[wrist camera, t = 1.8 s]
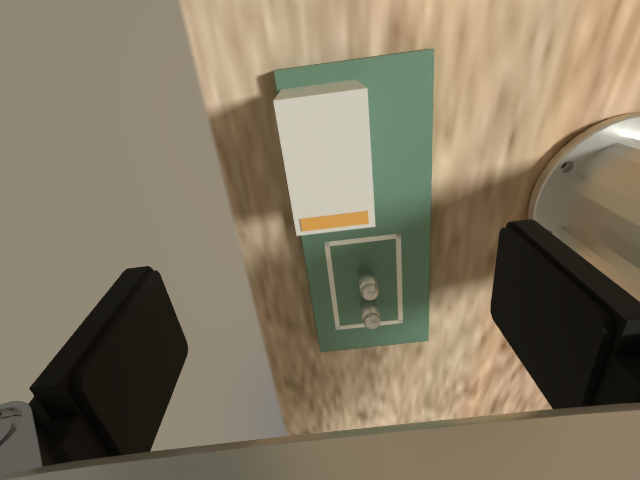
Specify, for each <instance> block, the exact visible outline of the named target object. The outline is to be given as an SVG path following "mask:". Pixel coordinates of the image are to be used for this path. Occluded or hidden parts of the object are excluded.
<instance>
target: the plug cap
mask: <svg viewBox="0 0 640 480" xmlns="http://www.w3.org/2000/svg"><path fill="white" fill-rule="evenodd" d="M273 103H274V108H275V114H276V120H277V126H278V131H279V137H280V143H281V149H282V155H283V160H284V166H285V172H286V178H287V184H288V189H289V195H290V201H291V207H292V212H293V218H294V224H295V230H296V236H301V235H309V234H318V233H326V232H335V231H343V230H352V229H360V228H369V227H376V226H375V209H374V192H373V175H372V158H371V141H370V123H369V106H368V89H367V87H365V86H364V85H363V84H362V83H360V82H359V81H358V80H357V79H354V80H346V81H339V82H331V83H324V84H317V85H309V86H302V87H294V88H287V89H281V91H280V92H279V93H278V95H277V96H276V98H275V99H274V100H273Z"/></svg>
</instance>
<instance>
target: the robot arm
mask: <svg viewBox="0 0 640 480" xmlns="http://www.w3.org/2000/svg"><path fill="white" fill-rule="evenodd" d="M491 315H492V318H493V320H494V322H495V323H496V325H497V326H498V328H499V329H500V331H501V332H502V334H503V335H504V337H505V338H506V340H507V341H508V343H509V344H510V346H511V347H512V349H513V350H514V352H515V353H516V355H517V356H518V358H519V359H520V361H521V362H522V364H523V365H524V367H525V368H526V370H527V371H528V373H529V374H530V375H531V377H532V378H533V380H534V381H535V383H536V384H537V386H538V387H539V389H540V390H541V392H542V393H543V395H544V396H545V398H546V399H547V401H548V402H549V404H550V405H551V407H552V408H553V409H551V410H539V411H529V412H519V413H509V414H499V415H489V416H479V417H469V418H459V419H449V420H439V421H429V422H419V423H410V424H400V425H391V426H381V427H372V428H362V429H353V430H343V431H334V432H324V433H315V434H306V435H296V436H287V437H278V438H268V439H260V440H250V441H241V442H233V443H224V444H215V445H206V446H197V447H188V448H179V449H170V450H162V451H152V452H150V450H151V448H152V445H153V442H154V440H155V437H156V435H157V432H158V429H159V427H160V424H161V422H162V419H163V416H164V414H165V411H166V409H167V406H168V403H169V401H170V398H171V396H172V393H173V391H174V388H175V385H176V383H177V380H178V378H179V375H180V373H181V370H182V367H183V365H184V362H185V359H186V357H187V353H188V346H187V341H186V339H185V336H184V334H183V331H182V328H181V326H180V323H179V321H178V319H177V316H176V313H175V311H174V308H173V306H172V303H171V301H170V298H169V295H168V293H167V291H166V288H165V285H164V283H163V281H162V278H161V275H160V273H159V272H158V271H156V270H155V271H153V269H152V268H151V267H149V266H145V267H137V268H129V269H126V270H125V271H124V272H123V273H122V274H121V276H120V277H119V278H118V279H117V280H116V282H115V283H114V284H113V286H112V287H111V288H110V289H109V290H108V292H107V293H106V294H105V296H104V297H103V298H102V299H101V300H100V302H99V303H98V304H97V305H96V307H95V308H94V309H93V310H92V311H91V313H90V314H89V315H88V316H87V318H86V319H85V320H84V321H83V323H82V324H81V325H80V326H79V328H78V329H77V330H76V331H75V332H74V334H73V335H72V336H71V337H70V339H69V340H68V341H67V342H66V344H65V345H64V346H63V347H62V349H61V350H60V351H59V352H58V354H57V355H56V356H55V357H54V358H53V360H52V361H51V362H50V363H49V365H48V366H47V367H46V369H45V370H44V371H43V372H42V373H41V375H40V376H39V377H38V378H37V379H36V381H35V382H34V383H33V384H32V386H31V387H30V390H31V392H33V394H34V398H33V399H32V400H31V402H30V403H29V404H28V403H25V402H22V401H11V402H7V403H4V404H0V480H640V112H638V113H628V114H624V115H620V116H616V117H612V118H610V119H607V120H605V121H603V122H600V123H598V124H596V125H593V126H592V127H590V128H589V129H587V130H585V131H584V132H582V133H580V134H579V135H577V136H576V137H575V138H573V139H572V140H571V141H570V142H569V143H567V144H566V145H565V146H564V147H563V148H561V150H560V151H559V152H558V153H557V154H556V155H555V156H554V157H553V158H552V159H551V160H550V162H549V163H548V164H547V166H546V167H545V169H544V170H543V172H542V173H541V175H540V176H539V178H538V180H537V182H536V185H535V187H534V189H533V191H532V194H531V198H530V202H529V206H528V220H521V221H512V222H509V223H507V225H506V228H502V229H501V230H500V234H499V241H498V250H497V258H496V266H495V274H494V283H493V291H492V299H491Z"/></svg>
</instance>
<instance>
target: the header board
mask: <svg viewBox="0 0 640 480" xmlns="http://www.w3.org/2000/svg"><path fill="white" fill-rule="evenodd" d="M274 76H275V82H276V88H277V94H278V93H279V92H280V91H281V89H287V88H294V87H302V86H309V85H317V84H324V83H331V82H339V81H346V80H354V79H357V80H358V81H359V82H360V83H362V84H363V85H364V86H365V87H367V89H368V106H369V123H370V141H371V158H372V175H373V192H374V209H375V226H376V227H369V228H360V229H352V230H343V231H335V232H326V233H318V234H309V235H301V239H302V245H303V251H304V257H305V263H306V269H307V275H308V281H309V287H310V293H311V299H312V305H313V311H314V317H315V323H316V329H317V335H318V341H319V347H320V352H326V351H336V350H345V349H355V348H365V347H374V346H384V345H394V344H403V343H413V342H423V341H428V332H429V282H430V231H431V181H432V130H433V79H434V49H424V50H417V51H409V52H402V53H395V54H388V55H380V56H373V57H366V58H359V59H351V60H344V61H337V62H330V63H322V64H315V65H308V66H301V67H293V68H286V69H279V70H275V71H274ZM363 267H369V268H371V269H372V270H373V271H374V274H375V277H376V281H377V285H378V289H379V294H378V296H377V298H376V299H375V300H376V302H377V306H378V311H379V315H380V319H381V322H380V325H379V326H378V327H377V328H375V329H369V328H367V327H366V326H365V325H364V324H363V320H362V314H361V308H360V300H361V298H362V296H361V294H360V289H359V283H358V278H357V273H358V271H359V270H360V269H361V268H363Z"/></svg>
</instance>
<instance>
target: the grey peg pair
mask: <svg viewBox="0 0 640 480" xmlns="http://www.w3.org/2000/svg"><path fill="white" fill-rule="evenodd" d="M357 278H358V283H359V289H360V294H361V296H362V298H361V300H360V308H361V314H362V320H363V324H364V325H365V326H366V327H367V328H369V329H375V328H377V327H378V326H379V325H380V322H381V319H380V315H379V311H378V306H377V302H376V300H375V299H376V298H377V296H378V294H379V289H378V285H377V281H376V277H375V274H374V271H373V270H372V269H371V268H369V267H363V268H361V269H360V270H359V271H358V273H357Z"/></svg>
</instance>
